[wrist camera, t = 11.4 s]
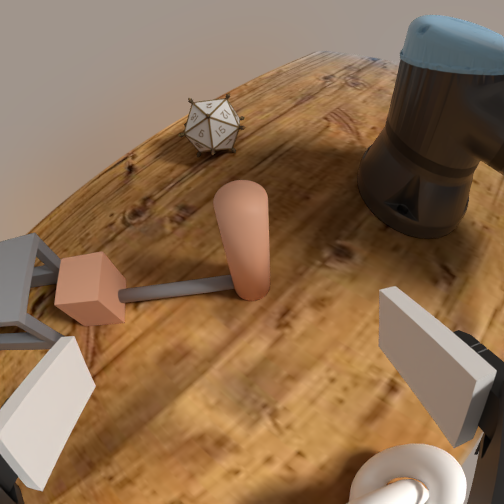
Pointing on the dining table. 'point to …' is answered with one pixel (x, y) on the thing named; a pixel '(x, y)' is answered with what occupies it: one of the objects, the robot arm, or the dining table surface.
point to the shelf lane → (25, 291)
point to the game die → (212, 125)
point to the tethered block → (242, 279)
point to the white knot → (413, 466)
